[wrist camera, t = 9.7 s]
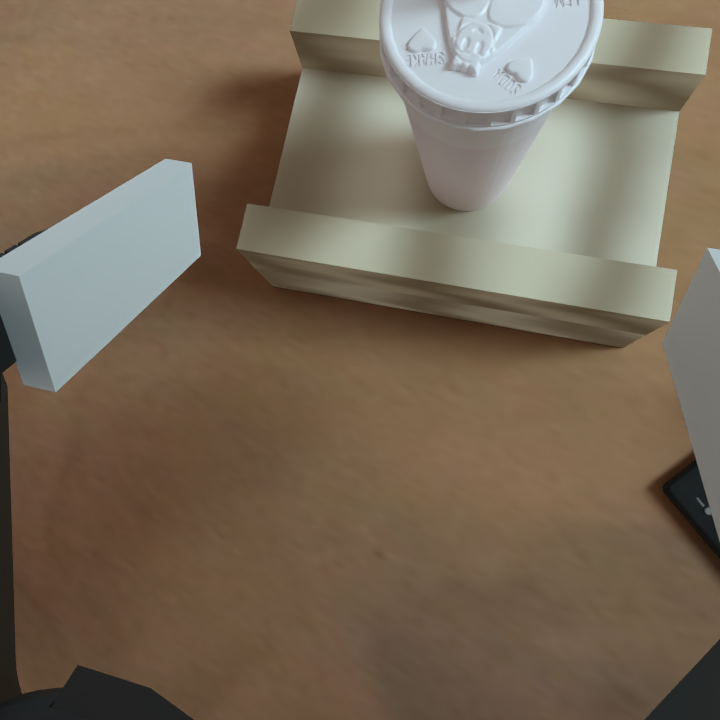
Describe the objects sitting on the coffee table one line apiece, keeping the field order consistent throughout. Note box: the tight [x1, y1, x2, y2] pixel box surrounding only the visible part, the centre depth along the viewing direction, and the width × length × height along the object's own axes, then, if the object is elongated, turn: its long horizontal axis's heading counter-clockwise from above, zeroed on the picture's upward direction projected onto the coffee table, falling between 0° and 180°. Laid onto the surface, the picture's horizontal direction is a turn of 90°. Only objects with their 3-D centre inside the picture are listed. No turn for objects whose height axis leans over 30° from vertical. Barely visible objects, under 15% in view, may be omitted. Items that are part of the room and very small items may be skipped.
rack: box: [236, 0, 712, 348], centre depth 26 cm, size 17×12×6 cm
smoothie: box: [379, 0, 604, 211], centre depth 19 cm, size 6×6×14 cm
